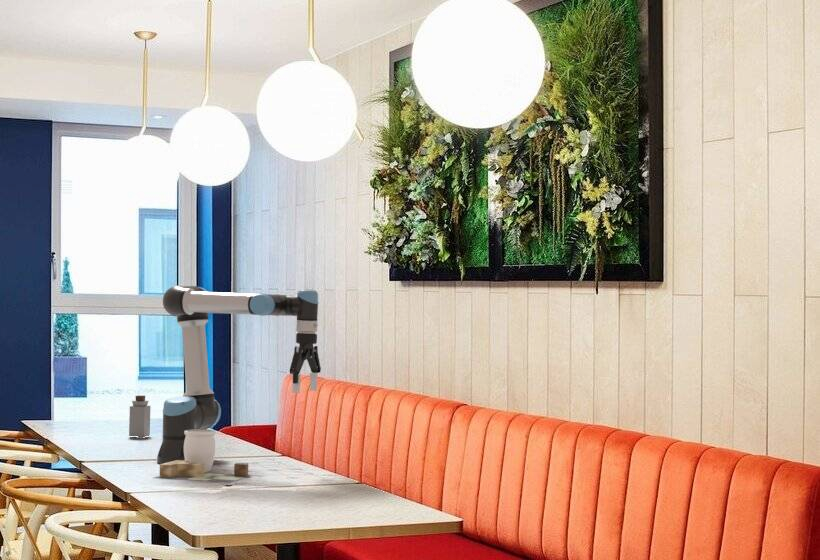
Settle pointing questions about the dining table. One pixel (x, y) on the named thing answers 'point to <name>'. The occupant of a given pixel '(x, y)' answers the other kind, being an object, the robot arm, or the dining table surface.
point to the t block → (182, 469)
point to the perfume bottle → (139, 417)
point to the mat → (209, 478)
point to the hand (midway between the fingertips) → (304, 391)
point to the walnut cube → (240, 469)
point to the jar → (200, 447)
